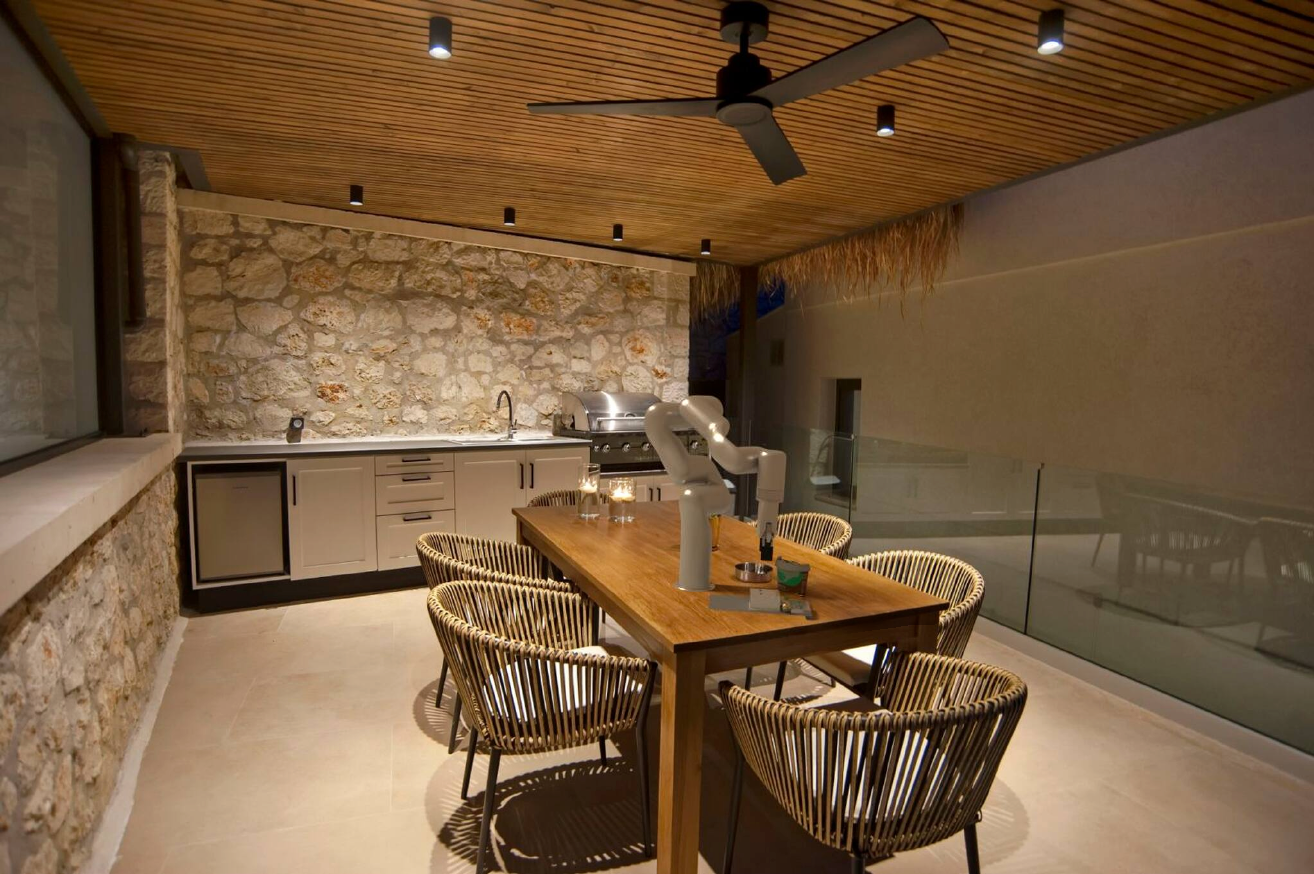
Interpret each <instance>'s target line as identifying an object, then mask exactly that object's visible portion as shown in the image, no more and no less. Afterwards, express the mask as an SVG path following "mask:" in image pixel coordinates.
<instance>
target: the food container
mask: <svg viewBox="0 0 1314 874" xmlns="http://www.w3.org/2000/svg"><path fill="white" fill-rule="evenodd" d="M774 566H775V567H776V580H777V585H776V586H777V587H776V588H777V590H779V591H782V592H784V593H789V594H797V596H798V597H800V596H799V595H805V596H807V595H806V594H807V585H808V578H809V572H810V571H811V566H810V563H805V564H804V563H802V564H801V563H799V562H797V561H794V560H788V559H784V558H783V557H782V555H779V556H777V557H776V559H775V561H774Z"/></svg>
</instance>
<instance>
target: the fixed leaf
mask: <svg viewBox="0 0 1314 874" xmlns="http://www.w3.org/2000/svg"><path fill="white" fill-rule="evenodd" d="M780 599H781V600H780V601H781V605H782V610H783V612H784V613H790V612H791V614H804V615H811V613H812V609H811V607H810V606H811V605H810V603H809V602H808V601H807V602H803V601H804V600H802V601H789V600H790V598H789V597H788V596H786V595H782V596H780Z"/></svg>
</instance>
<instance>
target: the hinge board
mask: <svg viewBox="0 0 1314 874" xmlns="http://www.w3.org/2000/svg"><path fill="white" fill-rule="evenodd" d="M780 600H781V598H780ZM749 601H750V596H743V595H742V596H741V595H740V596H739V595H726V594H725V595H724V594H711V593H710V594H709V602H708V608H707V609H708V610H714V611H716V610H717V611H718V610H719V611H728V612H745V613H756V614H757V613H758V614H759V613H760V614H770V615H771V614H772V615H784V616H786V615H787V616H798V617H799V616H801V617H802V616H803V617H805V620H808V621H809V620H810V621H812V620H813V614H812V612H811V615H804V614H791V612H790V613H784V612H783V610H782V605H781V601H780V611H775V610H760V609H750V603H749ZM789 601H803V602H808V600H799V599H789Z"/></svg>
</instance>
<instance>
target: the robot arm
mask: <svg viewBox="0 0 1314 874" xmlns="http://www.w3.org/2000/svg"><path fill="white" fill-rule="evenodd" d="M723 414H724V407H723V404H722V402H721V400H720V399H719V398H717V397H715V396H712V395H690V396H689V395H688V396H686V397H685V398H684V399H683V400H681V402H671V401H670V402H667V401H664V402H658V403H654V404H651V405H650V406H648V408H647V409H646V412H645V414H644V420H643V424H644V425H643V427H644V431H645V434H646V437H647V438H648V441H649V442H650V444H651V445H652V447H653V448H654V450H655V451H656V453H657V455H658V456H659V459H660V461H661V463H662V465H663V467H664V469H665V471H666V473H667V475H668V477H669V478H670V480H671V482H672V483H673V485H675V486H677V487H683V488H684V487H687V488H685V489H684V490H683V491H682V492H681V493H680V495H679V498H678V508H679V514H680V546H679V547H680V549H679V550H680V551H679V552H680V553H679V572H678V573H679V575H678V580H676V581H675V582H673V587H675V588H676V589H678V590H682V591H686V592H695V593H702V592H709V591H712V590H714V589H715V588H716V585H715V584H714V583H713V582H711V577H712V576H711V571H712V551H713V549H712V547H713V545H712V544H713V528H712V525H711V523H710V520H709V517H710V516H716V515H721V514H724V513H726V512H727V511H728V510H729V509H730V507H731V505H732V504H731V503H732V497H731V493H730V490H729V488H728V486H727V484H726V482H725V481H724V479H723V477H722V475H721V473H720V472H719V470H718V467H717V466H716V464H715V463H714V462H713V460H714V461H716V463H718V465H720V467H722V468H723V469H724V470H725V471H726V472H728V473H730V474H733V475H746V474H747V475H748V474H757V477H756V491H755V501H758V508H757V509H758V510H757V521H756V522H757V523H756V536H757V537H758V538H759V548H758V551H759V552H760V561H762V562H773V557H774V556H773V555H774V538H776V535H777V527H778V517H779V504H782V503H784V499H785V498H784V497H785V484H786V469H787V454H786V453H785V452H784V451H782V450H777V449H775V450H774V449H767V448H764V447H761V446H736V445H735V444H734V443H733V442H732V441H730V440H729V439H728V438H727V437H726V436H727V435H728V434H729V431H730V427H731V426H730V421H729V420H728V419H727V418H726V417H724V416H723ZM687 429H694V430H695V431H696V432H697V433H698V434H700V436H702V437H703V439H705V441H707V448H708V452H709V454H710V455H711V457H712V458H713V460H711V459H710V458H709V457H707V456H705V455H702V454H701V455H697V454H696V455H692V454H690V453H689V452H688V450H687V449H686V447H685V445H684V443H683V441H682V440H681V439H680V438H679V437H678V436H677V434H675V433H674V432H673V431H672V430H687Z"/></svg>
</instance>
